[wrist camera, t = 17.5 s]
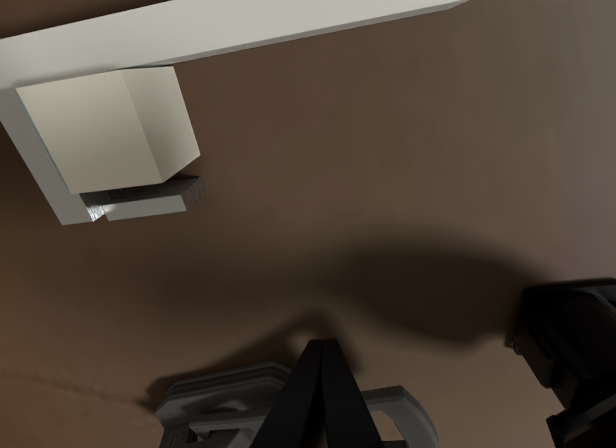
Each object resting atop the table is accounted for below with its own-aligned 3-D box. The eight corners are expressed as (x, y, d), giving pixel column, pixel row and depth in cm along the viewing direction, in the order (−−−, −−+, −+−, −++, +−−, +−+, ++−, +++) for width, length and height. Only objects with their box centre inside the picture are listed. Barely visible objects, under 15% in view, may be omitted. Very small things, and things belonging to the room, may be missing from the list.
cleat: (162, 65, 17) (119, 67, 14) (205, 191, 21) (179, 218, 17) (51, 87, 18) (-15, 94, 15) (109, 204, 22) (66, 232, 18)
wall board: (449, -43, 14) (481, -70, 11) (447, 9, 15) (476, -3, 12) (32, 48, 17) (-33, 46, 14) (51, 87, 18) (-5, 93, 15)
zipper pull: (453, 465, 22) (179, 511, 29) (428, 380, 28) (204, 435, 35) (411, 391, 19) (111, 462, 26) (393, 311, 25) (152, 387, 31)
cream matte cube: (173, 66, 17) (119, 69, 13) (200, 154, 20) (162, 182, 15) (86, 81, 18) (7, 89, 14) (122, 165, 20) (64, 195, 16)
